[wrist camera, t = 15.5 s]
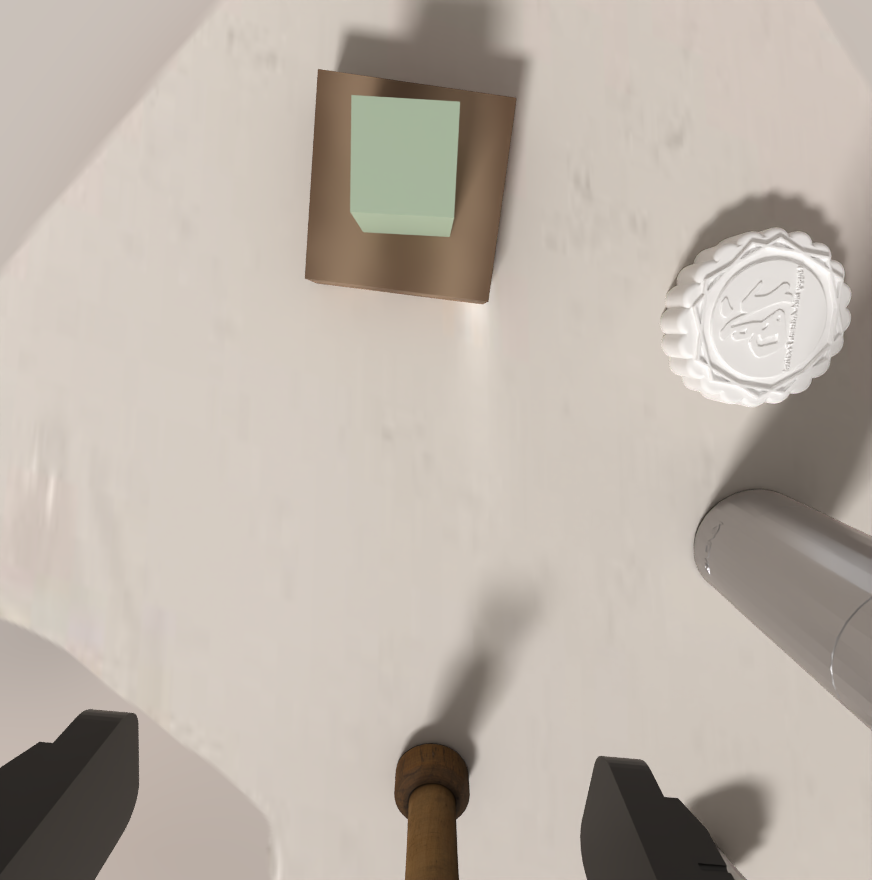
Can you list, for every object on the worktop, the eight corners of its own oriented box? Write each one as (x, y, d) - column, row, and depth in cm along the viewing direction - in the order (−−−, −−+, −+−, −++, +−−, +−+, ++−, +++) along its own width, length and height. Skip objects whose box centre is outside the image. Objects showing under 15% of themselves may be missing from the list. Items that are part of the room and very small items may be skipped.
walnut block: (506, 124, 34) (516, 97, 30) (481, 304, 37) (488, 301, 33) (330, 99, 34) (318, 69, 30) (318, 283, 36) (304, 278, 32)
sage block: (454, 142, 31) (460, 101, 25) (449, 236, 32) (453, 217, 26) (364, 136, 31) (351, 95, 25) (363, 232, 32) (350, 211, 26)
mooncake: (665, 235, 36) (691, 224, 32) (832, 234, 36) (875, 224, 32) (650, 402, 38) (673, 409, 35) (806, 401, 38) (844, 408, 35)
